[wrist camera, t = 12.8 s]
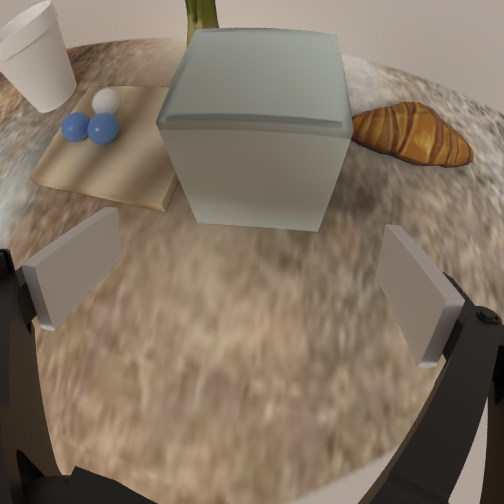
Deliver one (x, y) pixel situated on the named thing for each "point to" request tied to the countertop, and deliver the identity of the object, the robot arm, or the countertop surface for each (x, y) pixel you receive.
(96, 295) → the countertop surface
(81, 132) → the blue marble
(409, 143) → the croissant
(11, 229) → the countertop surface
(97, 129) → the blue marble
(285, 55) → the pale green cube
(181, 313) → the countertop surface
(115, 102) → the marble white
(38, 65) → the foam cup
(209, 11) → the fennel bulb
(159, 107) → the board
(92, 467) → the countertop surface
